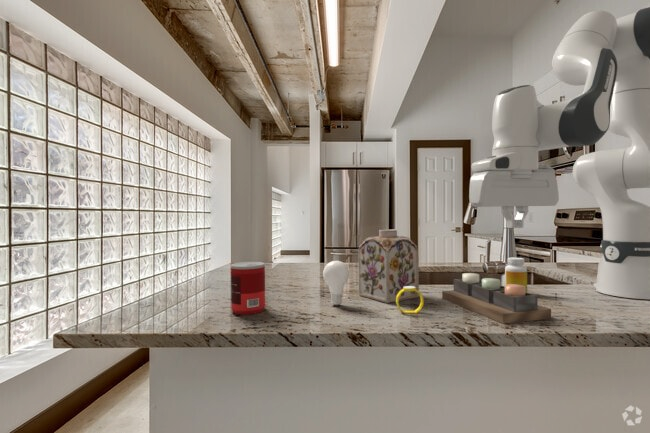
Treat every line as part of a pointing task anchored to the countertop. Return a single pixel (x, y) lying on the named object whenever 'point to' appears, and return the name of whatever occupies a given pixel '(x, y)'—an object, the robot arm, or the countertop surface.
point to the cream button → (470, 277)
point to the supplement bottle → (516, 272)
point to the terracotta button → (514, 290)
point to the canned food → (247, 287)
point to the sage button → (490, 283)
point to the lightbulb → (336, 279)
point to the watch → (409, 288)
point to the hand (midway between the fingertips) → (514, 228)
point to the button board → (496, 303)
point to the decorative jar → (388, 267)
